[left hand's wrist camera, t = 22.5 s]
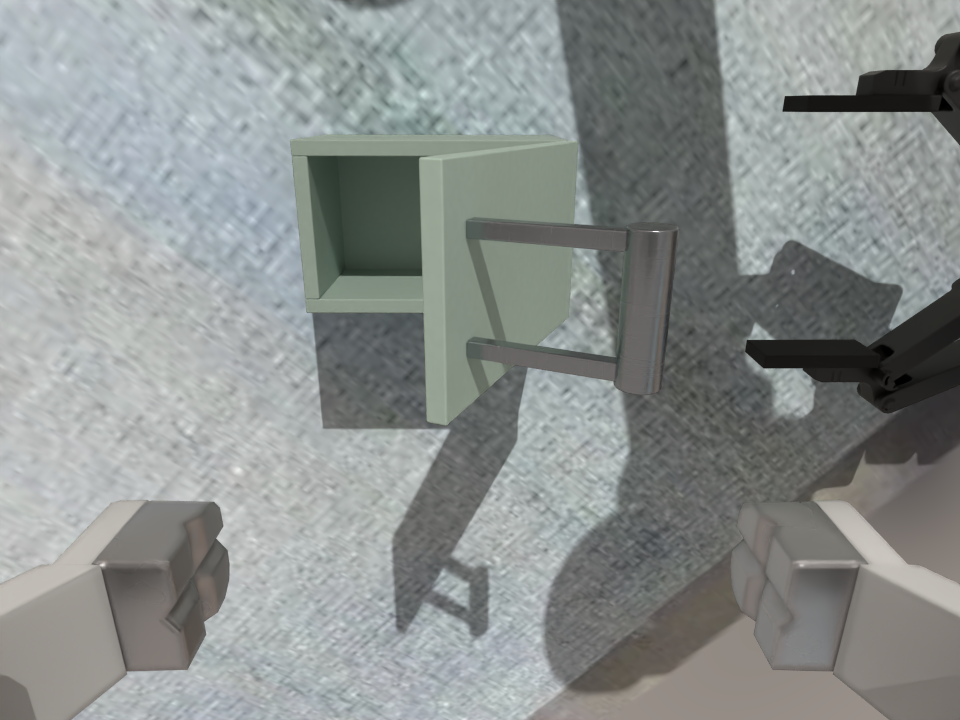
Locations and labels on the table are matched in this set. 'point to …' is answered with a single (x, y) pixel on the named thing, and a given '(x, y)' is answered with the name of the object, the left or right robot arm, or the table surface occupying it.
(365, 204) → the chest
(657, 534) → the table surface
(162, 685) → the table surface
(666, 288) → the lid
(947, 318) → the right robot arm
